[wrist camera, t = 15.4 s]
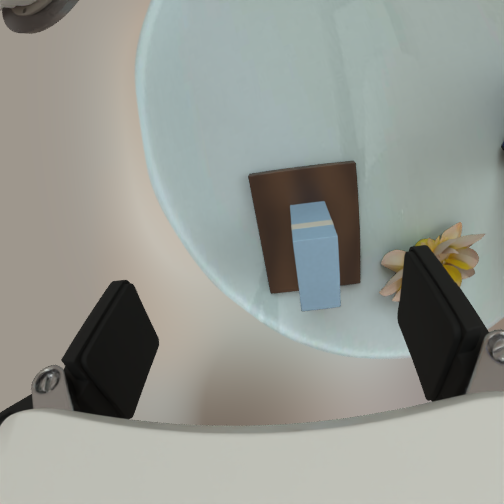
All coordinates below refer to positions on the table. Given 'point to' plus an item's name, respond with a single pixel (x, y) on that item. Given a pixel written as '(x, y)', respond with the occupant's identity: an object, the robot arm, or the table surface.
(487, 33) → the table surface
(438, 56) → the table surface
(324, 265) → the box
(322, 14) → the table surface
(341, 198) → the brown wooden board
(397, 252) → the decorative flower
